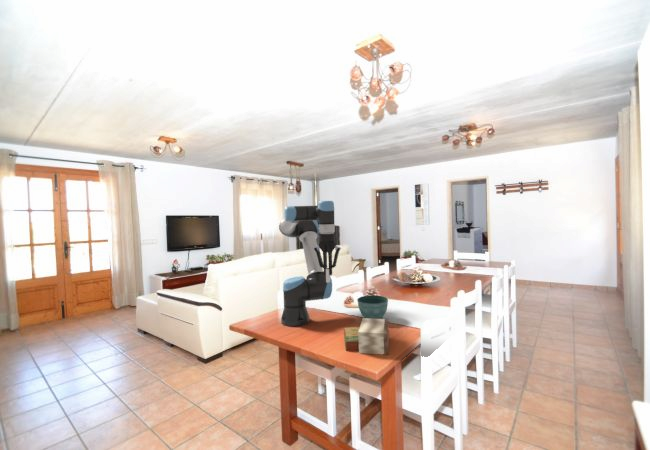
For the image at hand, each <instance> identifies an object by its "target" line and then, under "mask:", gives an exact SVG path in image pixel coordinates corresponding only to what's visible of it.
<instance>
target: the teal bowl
mask: <svg viewBox="0 0 650 450" xmlns="http://www.w3.org/2000/svg"><path fill="white" fill-rule="evenodd" d="M388 302H389V299H388V297H385V296H384V295H383V296H382V295H374V294H371V295H369V294H368V295H363V296H360V297H358V298H357V305H358V310H359V312H360V314H361V315H362V317H363V318H371V319H384V318H383V317H384V316H385V315H386V313H387V309H388V306H389V305H388V304H389V303H388Z"/></svg>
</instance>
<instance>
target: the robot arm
mask: <svg viewBox="0 0 650 450" xmlns="http://www.w3.org/2000/svg"><path fill="white" fill-rule="evenodd" d="M283 211H284V213H283V215H284V218H283V219H282V220H281V221H280V222H279V223H278V224H279V225H278V229H279V232H280V233H281V234H282V235H284V236H285V237H288V238H298V241H300V242H301V243H302V249H303V253H304V258H305V265H306V268H307V275H306V277H304V276H294V277H293V276H292V277H290V278H287V279H285V280H284V281H283V285H282V292H283V311H282V313H281V314H282V315H281V317H280V319H281V320H280V323H281V324H282V325H283V326H287V327H298V326H304V325H306V324H308V323H309V322H310V314H309V311H308V309H307V306H306V305H307V304H306V302H308V301H310V302H311V301H317V300H318V301H319V300H326V299H329V298H330V297H331V295H332V292H333V282H332V281H333V280H332V278H331V276H332V275H333V269H334V268H336V267H337V263H338V258H339V253H340V251H341V249H342V248H341V247H339V246H337V244H336V234H335V232H336V230H335V229H336V227H335V202H334V201H333V200H319V201H318V205H289V206H285V207H284V210H283ZM318 236H319V237H318ZM317 239H319V240H318V241H319V243H317ZM320 250H321V251H320ZM333 251H335V252H334V256H333ZM321 252H322V253H321ZM321 254H322V255H321Z"/></svg>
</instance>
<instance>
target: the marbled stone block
mask: <svg viewBox="0 0 650 450" xmlns="http://www.w3.org/2000/svg"><path fill="white" fill-rule="evenodd" d="M359 327H360V328H359V331H358V338H359V350H358V353H359V354H370V355H383V354H387V356H388V355H389V347H390V346H389V342H390V335H389V334H390V331H389V328H390V327H389V319H388V318H383V319H371V318H364V317H362V319H361V322H360V326H359Z"/></svg>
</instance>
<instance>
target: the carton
mask: <svg viewBox="0 0 650 450" xmlns="http://www.w3.org/2000/svg"><path fill="white" fill-rule="evenodd" d="M359 328H360V326H359V327H358V326H357V327H356V326H355V327H354V326H353V327H343V328H342V331H343V339H344V347H345V348H344V349H345V351H347V352H348V351H350V352H351V351H359V338H358V331H359Z"/></svg>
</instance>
